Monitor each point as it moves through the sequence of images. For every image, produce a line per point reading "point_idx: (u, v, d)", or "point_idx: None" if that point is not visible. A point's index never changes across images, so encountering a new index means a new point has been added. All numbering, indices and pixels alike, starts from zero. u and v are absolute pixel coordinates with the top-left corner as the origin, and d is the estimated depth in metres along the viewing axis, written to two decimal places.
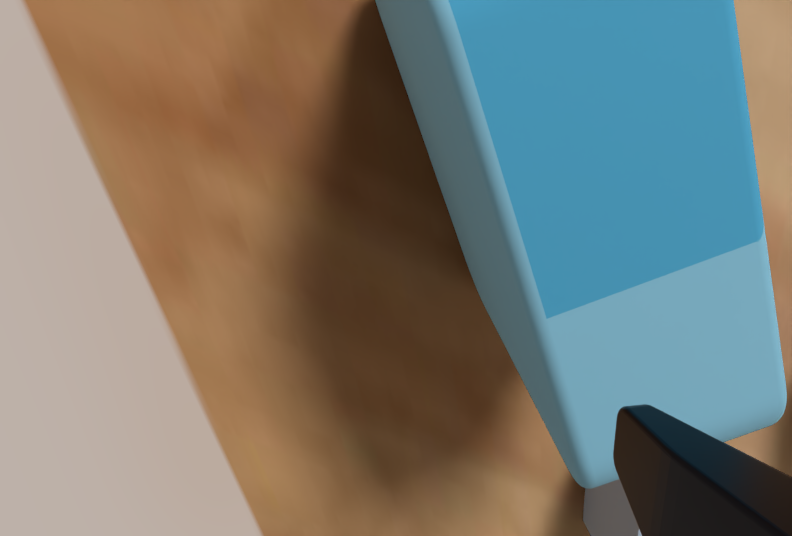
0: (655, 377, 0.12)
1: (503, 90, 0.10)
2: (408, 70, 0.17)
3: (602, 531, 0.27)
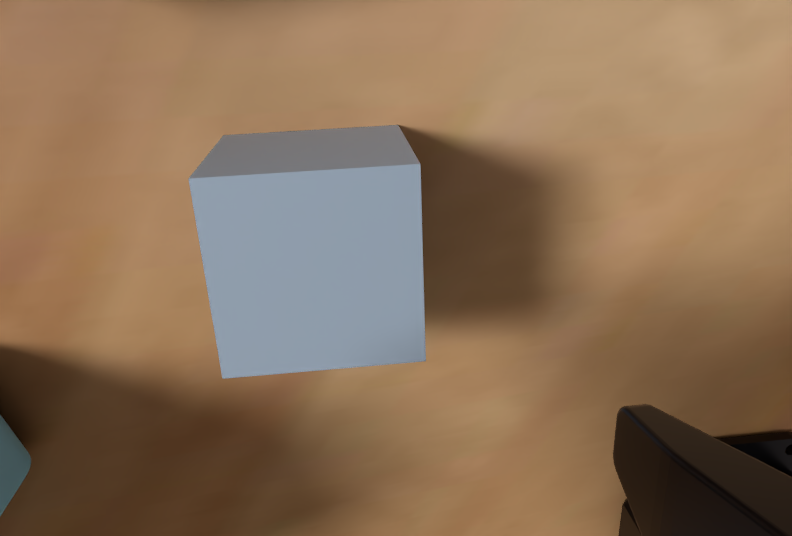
0: None
1: None
2: None
3: None
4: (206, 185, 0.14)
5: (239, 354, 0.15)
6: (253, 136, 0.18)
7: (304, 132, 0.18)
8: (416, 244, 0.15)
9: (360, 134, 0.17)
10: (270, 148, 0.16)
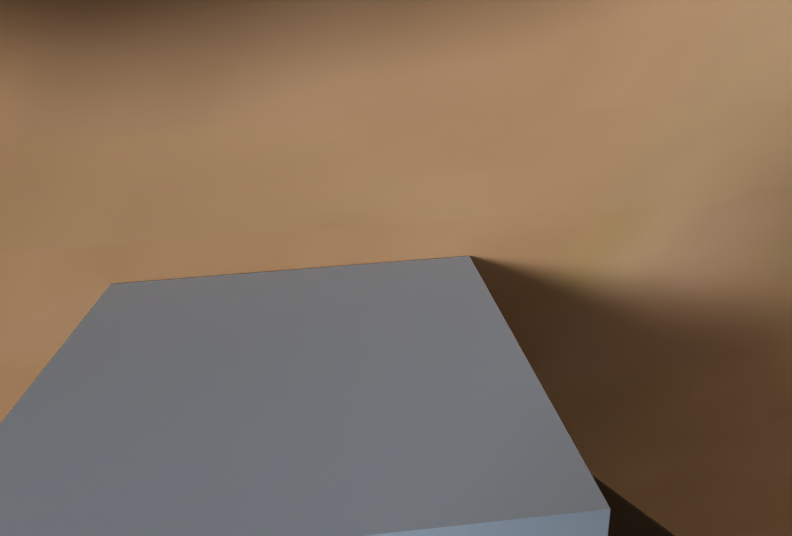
0: None
1: None
2: None
3: None
4: None
5: None
6: (167, 296, 0.08)
7: (277, 281, 0.09)
8: None
9: (397, 296, 0.08)
10: (187, 362, 0.07)
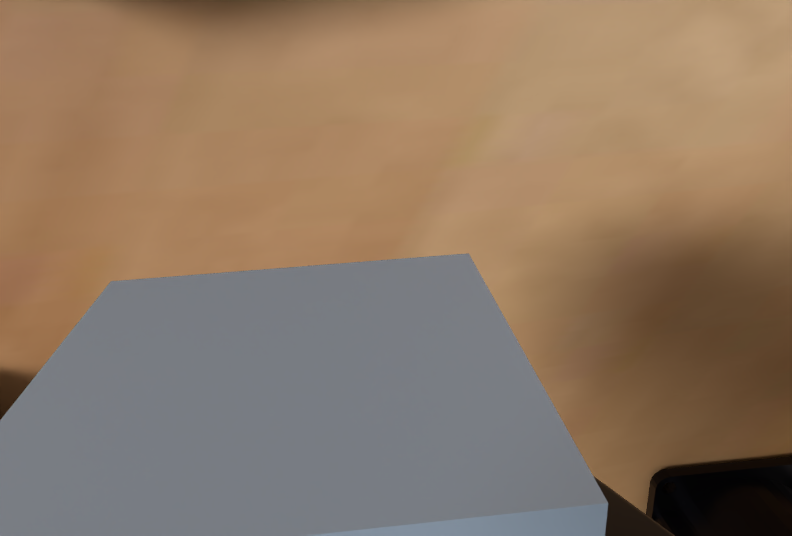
0: None
1: None
2: None
3: None
4: None
5: None
6: (167, 293, 0.08)
7: (277, 279, 0.09)
8: None
9: (397, 293, 0.08)
10: (187, 358, 0.07)
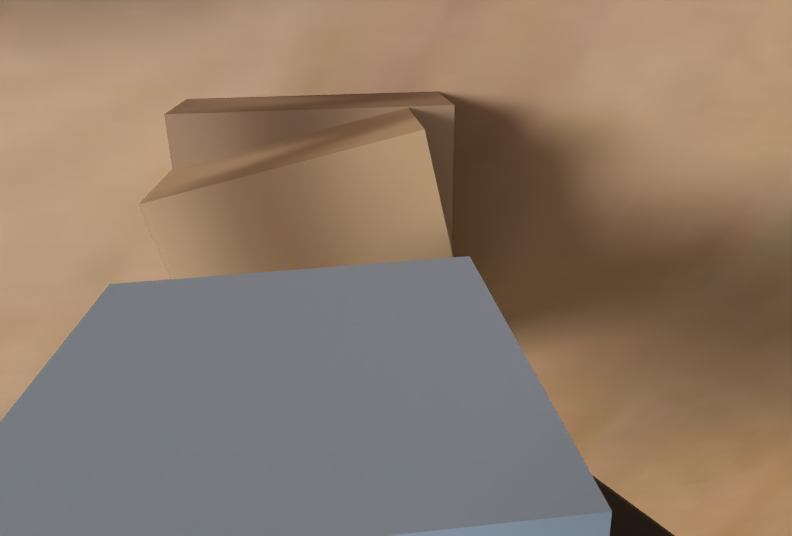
0: None
1: None
2: None
3: None
4: None
5: None
6: (166, 296, 0.08)
7: (276, 282, 0.09)
8: None
9: (397, 297, 0.08)
10: (186, 363, 0.07)
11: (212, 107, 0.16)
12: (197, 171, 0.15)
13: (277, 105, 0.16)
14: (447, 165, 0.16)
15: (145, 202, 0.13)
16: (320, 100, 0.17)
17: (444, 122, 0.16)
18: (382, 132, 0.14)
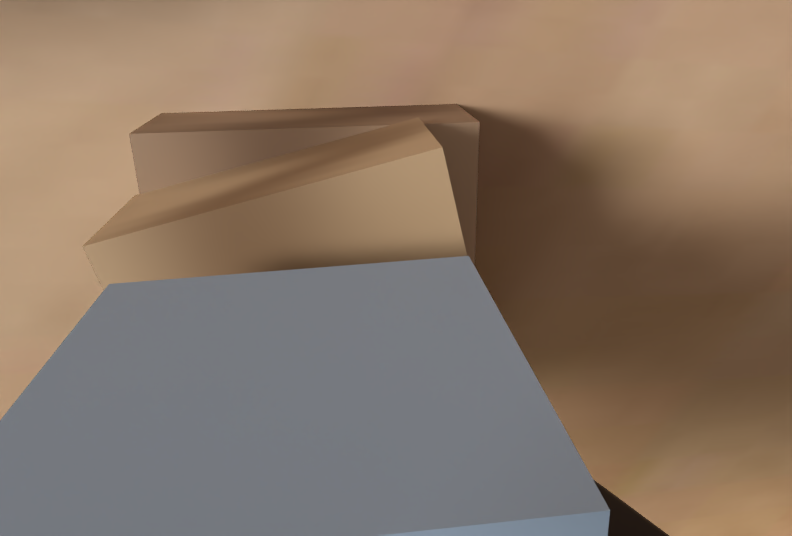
0: None
1: None
2: None
3: None
4: None
5: None
6: (165, 295, 0.08)
7: (276, 281, 0.09)
8: None
9: (396, 296, 0.08)
10: (185, 362, 0.07)
11: (189, 124, 0.13)
12: (162, 199, 0.12)
13: (267, 121, 0.14)
14: (470, 193, 0.14)
15: (91, 243, 0.10)
16: (318, 115, 0.14)
17: (467, 142, 0.13)
18: (389, 150, 0.11)
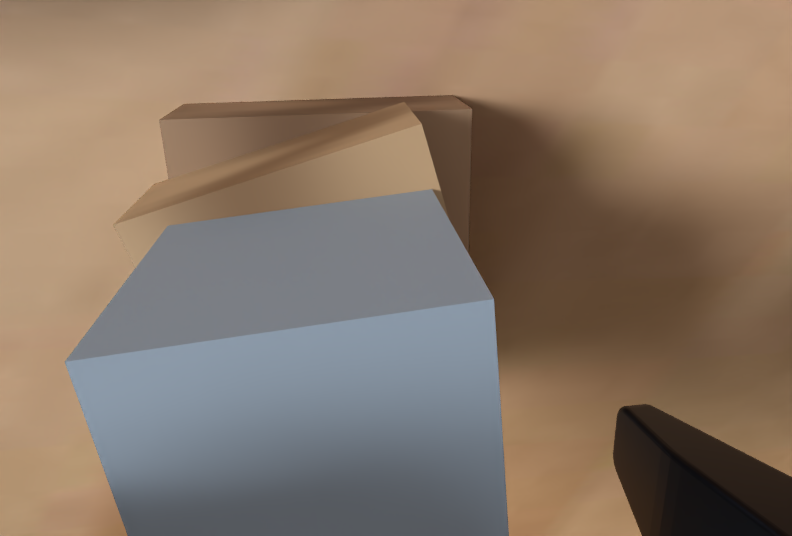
0: None
1: None
2: None
3: None
4: (100, 370, 0.07)
5: None
6: (210, 228, 0.11)
7: (289, 214, 0.12)
8: (491, 431, 0.08)
9: (376, 216, 0.11)
10: (230, 259, 0.10)
11: (211, 112, 0.15)
12: (179, 184, 0.14)
13: (281, 110, 0.15)
14: (463, 174, 0.15)
15: (120, 222, 0.12)
16: (327, 104, 0.16)
17: (461, 127, 0.15)
18: (376, 130, 0.12)
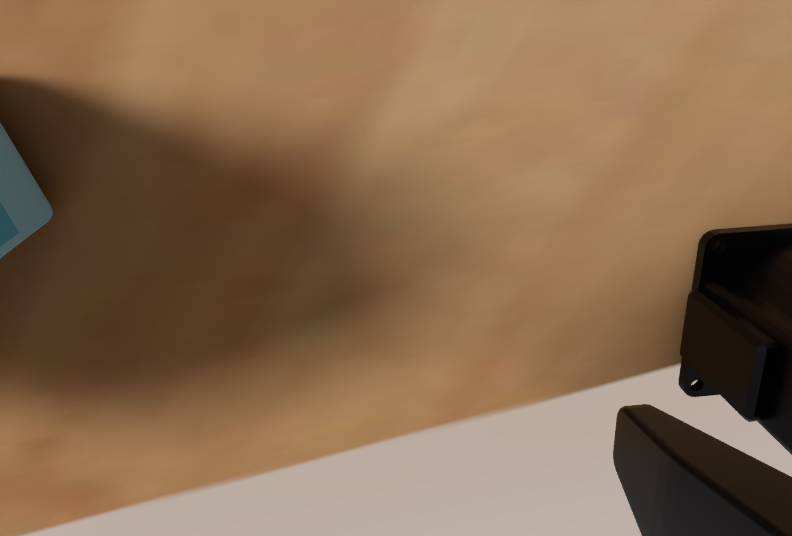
0: None
1: None
2: None
3: None
4: None
5: None
6: None
7: None
8: None
9: None
10: None
11: None
12: None
13: None
14: None
15: None
16: None
17: None
18: None
